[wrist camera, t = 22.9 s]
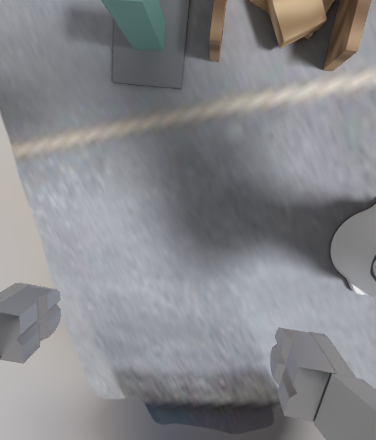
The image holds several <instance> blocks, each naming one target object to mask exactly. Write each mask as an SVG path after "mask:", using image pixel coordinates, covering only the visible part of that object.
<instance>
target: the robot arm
mask: <svg viewBox="0 0 376 440" xmlns="http://www.w3.org/2000/svg"><path fill="white" fill-rule="evenodd" d="M331 259H332V262H333V264H334V266H335V268H336V269H337V270H338V271H339V272H340V273H341V274H342V275H343V276H344V277H345V278H346V279H347V280H348V283H349V286H350V288H351V289H352V291H354V292H355V293H357V294H367V295H369V296H370V297H371V298H373V299H374V300H376V203H375V204H374V205H373V206H372V207H371V208H369V209H367V210H365V211H362V212H360V213H357V214H355V215H354V216H352V217H350V218H349V219H348V220H346V221H345V222H344V223H343V224H342V225H341V226H340V227H339V229H338V230H337V232H336V233H335V235H334V237H333V240H332V243H331ZM59 301H60V292H59V291H58V290H57V289H52V288H46V287H41V286H36V285H30V284H24V283H15V284H13V285H12V286H10V287H8V288H7V289H5V290H3V291H2V292H0V360H6V361H12V362H18V363H25V362H26V360H27V359H28V358H29V357H30V356H31V355H32V354H33V353H34V352H35V351H36V350H37V349H38V348H39V347H40V341H41V340H43V339H46V338H48V337H49V336H50V335H51V334H52V333H53V332H54V331H55V330H56V328H57V326H58V324H59V322H60V317H61V310H60V308H59V307H58V305H57V303H58V302H59ZM275 338H276V341H277V344H276V345H275V346H274V347H272V351H271V357H270V365H271V372H272V375H273V379H274V380H275V381H276V382H277V383H278V384H279V389H278V396H279V399H280V402H281V406H282V409H283V412H284V415H285V416H289V417H294V418H298V419H302V420H306V421H311V422H314V425H315V426H316V427H317V429H318V430H319V431H320V432H321V434H322V435H323V436H324V438H325V439H326V440H376V389H374V388H373V387H372V386H370V385H369V384H368V383H366V382H365V381H364V380H362V379H359V378H356V377H355V375H354V374H353V372H352V371H351V370H350V368H349V367H348V365H347V364H346V362H345V361H344V359H343V358H342V357H341V355H340V354H339V352H338V351H337V349H336V348H335V346H334V345H333V344H332V342H331V341H330V339H329V338H328V337H327V336H326V335H325V334H320V333H313V332H303V331H297V330H291V329H285V328H278V330H277V332H276V335H275Z"/></svg>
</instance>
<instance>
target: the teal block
mask: <svg viewBox="0 0 376 440" xmlns="http://www.w3.org/2000/svg"><path fill="white" fill-rule="evenodd" d="M101 1H102V2H103V4H104V5H105V7H106V8H107V10H108V11H109V13H110V14H111V16H112V17H113V19H114V20H115V22H116V23H117V25H118V26H119V28H120V29H121V31H122V32H123V34H124V35H125V37H126V38H127V40H128V41H129V43H130V44H131V46H132V47H133V49H139V50H151V51H163V47H164V34H165V20H164V17H163V14H162V10H161V7H160V4H159V1H158V0H101Z"/></svg>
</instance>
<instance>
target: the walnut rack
mask: <svg viewBox="0 0 376 440" xmlns="http://www.w3.org/2000/svg"><path fill="white" fill-rule="evenodd" d="M226 2H227V0H214V4H213V13H212V21H211V30H210V38H209V54H210V61H216V62H219V56H220V48H221V41H222V33H223V25H224V18H225V10H226ZM370 3H371V0H339V4H338V9H337V13H336V17H335V21H334V25H333V30H332V34H331V38H330V42H329V47H328V51H327V55H326V59H325V63H324V68H323V70H328V71H333V70H335V69H336V68H337V67H338V66H340V65H341V64H342V63H343V62H345V61H346V60H347V59H348V58H350V57H351V56H352V55H353V54H355V53H356V52H357V51H358V48H359V44H360V40H361V37H362V33H363V29H364V25H365V22H366V18H367V14H368V10H369V7H370Z"/></svg>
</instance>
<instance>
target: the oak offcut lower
mask: <svg viewBox="0 0 376 440" xmlns="http://www.w3.org/2000/svg"><path fill="white" fill-rule="evenodd" d="M249 1H250V2H252V3H253V4H255V5H256V6H258V7H259V8H261V9H262V10H264V11H265V12H267V13H268V14H269V11H268V8H267V4H266V1H265V0H249ZM322 1H323V5H324V9H325V13H327V11H328V10H329V8H330V6H331V5H332V3H333V2H334V0H322ZM313 33H314V32H313ZM313 33H311V34H309V35H307V36H305V37H304V38H306V39H307V40H309V39H310V37H311V36H312V35H313Z"/></svg>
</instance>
